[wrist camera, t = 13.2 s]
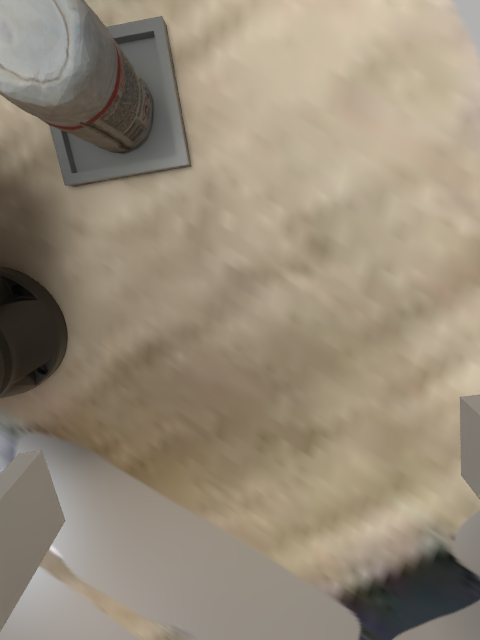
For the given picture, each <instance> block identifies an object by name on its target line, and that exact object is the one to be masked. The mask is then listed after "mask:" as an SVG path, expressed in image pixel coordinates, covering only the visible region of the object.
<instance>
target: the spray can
mask: <svg viewBox="0 0 480 640" xmlns="http://www.w3.org/2000/svg"><path fill="white" fill-rule="evenodd" d="M0 94H1V95H2V96H3V97H5V98H6V99H7V100H9V101H10V102H12V103H13V104H15V105H16V106H18V107H19V108H21V109H22V110H24V111H26V112H28V113H30V114H31V115H34V116H37V117H38V118H39V119H41V120H42V121H44V122H45V123H47V124H48V125H50V126H52V127H55V128H57V129H60V130H62V131H65V132H67V133H69V134H72V135H74V136H76V137H78V138H79V139H82V140H85V141H87V142H89V143H92V144H94V145H96V146H98V147H100V148H102V149H105V150H107V151H110V152H114V153H122V154H125V153H128V152H130V151H132V150H134V149H135V148H137V147H139V146H140V145H142V144H143V143H144V142H145V141H146V139H147V138H148V135H149V133H150V130H151V126H152V120H153V106H154V104H153V98H152V95H151V93H150V91H149V89H148V88H147V86H146V84H145V82H144V81H143V80H142V79H141V77H140V76H139V74H138V73H137V71H136V70H135V69H134V67H133V66H132V64H131V62H130V61H129V59H128V58H127V57H126V56H125V54H124V53H123V51H122V50H121V48H120V46H119V45H118V44H117V43H116V41H115V40H114V38H113V37H112V35H111V34H110V32H109V31H108V29H107V28H106V26H105V25H104V24H103V23H102V22H101V21H100V19H99V18H98V16H97V15H96V14H95V12H94V11H93V10H92V9H91V8H90V7H89V6H88V5H87V4H86V2H85V1H84V0H0Z"/></svg>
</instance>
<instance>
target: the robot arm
mask: <svg viewBox="0 0 480 640" xmlns="http://www.w3.org/2000/svg"><path fill="white" fill-rule="evenodd" d="M66 345H67V330H66V324H65V321H64V317H63V315H62V312H61V310H60V308H59V306H58V305H57V303H56V301H55V300H54V298H53V297H52V296H51V295H50V294H49V292H48V291H47V290H46V289H45V288H44V287H43V286H41V285H40V284H39V283H38V282H36V281H35V280H34V279H32V278H30V277H29V276H27V275H25V274H23V273H21V272H18V271H15V270H12V269H8V268H3V267H0V399H1V398H5V397H9V396H12V395H16V394H20V393H24V392H26V391H29V390H31V389H33V388H35V387H36V386H38V385H39V384H41V383H42V382H43V381H44V380H46V379H47V378H48V377H49V376H50V375H51V374H52V373H53V372H54V371H55V370H56V369H57V368H58V366H59V365H60V363H61V361H62V359H63V357H64V354H65V350H66ZM460 433H461V476H462V477H463V478H464V480H465V481H466V482H467V483H468V485H469V486H470V487H471V489H472V490H473V491H474V493H475V494H476V495H477V496H478V498H479V499H480V395H472V396H465V397H460ZM64 522H65V518H64V515H63V512H62V509H61V506H60V503H59V500H58V497H57V494H56V491H55V488H54V485H53V482H52V479H51V476H50V473H49V470H48V467H47V464H46V461H45V458H44V455H43V452H42V451H34V452H26V453H20V454H18V456H17V457H16V458H15V459H14V460H13V461H12V462H11V463H10V464H9V465H8V466H7V467H6V468H5V470H4V471H3V472H2V473H1V474H0V632H1V630H2V628H3V626H4V625H5V623H6V621H7V619H8V618H9V616H10V614H11V613H12V611H13V609H14V608H15V606H16V604H17V602H18V601H19V599H20V597H21V596H22V594H23V592H24V590H25V589H26V587H27V585H28V584H29V582H30V580H31V579H32V576H33V575H34V573H35V572H36V570H37V568H38V567H39V565H40V563H41V561H42V560H43V558H44V556H45V555H46V553H47V551H48V550H49V548H50V546H51V544H52V543H53V541H54V539H55V538H56V536H57V534H58V532H59V531H60V529H61V527H62V526H63V524H64Z"/></svg>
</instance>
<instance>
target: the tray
mask: <svg viewBox="0 0 480 640" xmlns="http://www.w3.org/2000/svg"><path fill="white" fill-rule="evenodd" d="M106 28H107V29H108V31H109V32H110V34H111V35H112V37H113V38H114V40H115V41H116V43H117V44H118V45H119V46H120V48H121V50H122V51H123V53H124V54H125V56H126V57H127V58H128V59H129V61H130V62H131V64H132V66H133V67H134V69H135V70H136V71H137V73H138V74H139V76H140V77H141V79H142V80H143V81H144V82H145V84H146V86H147V88H148V89H149V91H150V93H151V95H152V98H153V104H154V106H153V120H152V126H151V130H150V133H149V135H148V138H147V139H146V141H145V142H144V143H143V144H142V145H140V146H139V147H137V148H135V149H134V150H132V151H130V152H128V153H125V154H122V153H114V152H110V151H107V150H105V149H102V148H100V147H98V146H96V145H94V144H92V143H89V142H87V141H85V140H82V139H79V138H78V137H76V136H74V135H72V134H69V133H67V132H65V131H62V130H60V129H57V128H55V127H52V126H50V129H51V133H52V137H53V141H54V145H55V149H56V152H57V156H58V160H59V164H60V168H61V172H62V175H63V179H64V183H65V185H66V186H77V185H83V184H89V183H95V182H100V181H106V180H112V179H118V178H124V177H130V176H135V175H141V174H147V173H153V172H159V171H165V170H171V169H176V168H182V167H188V166H191V161H190V156H189V150H188V145H187V139H186V133H185V128H184V122H183V116H182V111H181V105H180V100H179V94H178V88H177V83H176V77H175V71H174V66H173V60H172V55H171V49H170V43H169V38H168V32H167V26H166V24H165V21H164V19H163V17H162V16H160V17H155V18H150V19H145V20H140V21H135V22H130V23H125V24H120V25H115V26H109V27H106Z"/></svg>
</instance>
